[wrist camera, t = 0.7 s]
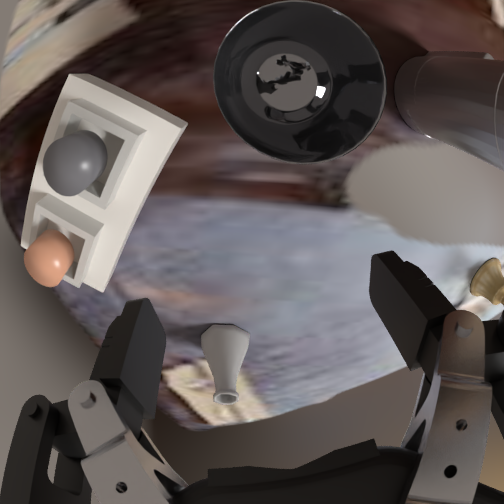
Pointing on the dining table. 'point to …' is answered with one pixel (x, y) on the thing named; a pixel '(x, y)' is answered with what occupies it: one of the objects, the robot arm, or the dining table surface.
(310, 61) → the wine glass
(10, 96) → the dining table surface
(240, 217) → the dining table surface
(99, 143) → the charcoal button
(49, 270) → the terracotta button
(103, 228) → the console
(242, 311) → the dining table surface
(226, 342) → the flask
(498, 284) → the hand bell
